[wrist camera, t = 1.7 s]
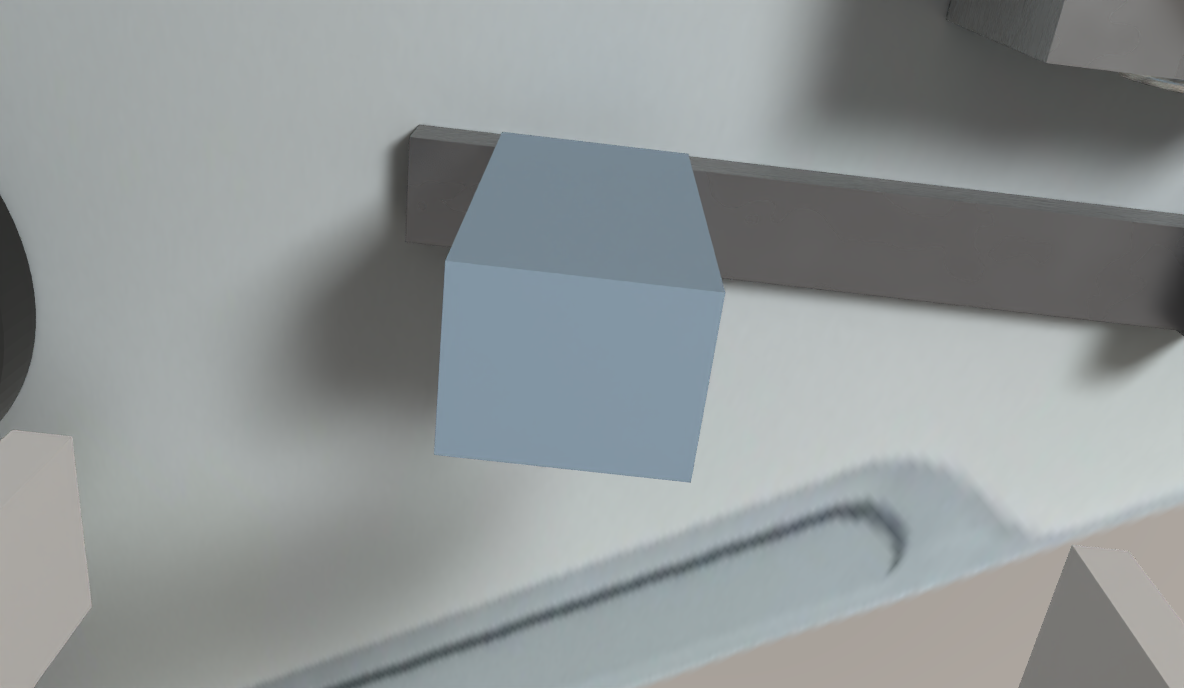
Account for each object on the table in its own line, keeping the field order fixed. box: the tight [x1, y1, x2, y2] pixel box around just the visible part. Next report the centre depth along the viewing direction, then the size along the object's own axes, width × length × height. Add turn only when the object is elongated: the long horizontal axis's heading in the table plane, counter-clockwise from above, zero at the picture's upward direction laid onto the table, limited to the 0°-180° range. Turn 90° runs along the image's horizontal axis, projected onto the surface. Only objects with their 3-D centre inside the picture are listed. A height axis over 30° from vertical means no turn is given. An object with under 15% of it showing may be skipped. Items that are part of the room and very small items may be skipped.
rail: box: [405, 125, 1184, 336], centre depth 28 cm, size 24×4×4 cm, turn 83°
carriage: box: [434, 132, 725, 483], centre depth 23 cm, size 5×4×10 cm
